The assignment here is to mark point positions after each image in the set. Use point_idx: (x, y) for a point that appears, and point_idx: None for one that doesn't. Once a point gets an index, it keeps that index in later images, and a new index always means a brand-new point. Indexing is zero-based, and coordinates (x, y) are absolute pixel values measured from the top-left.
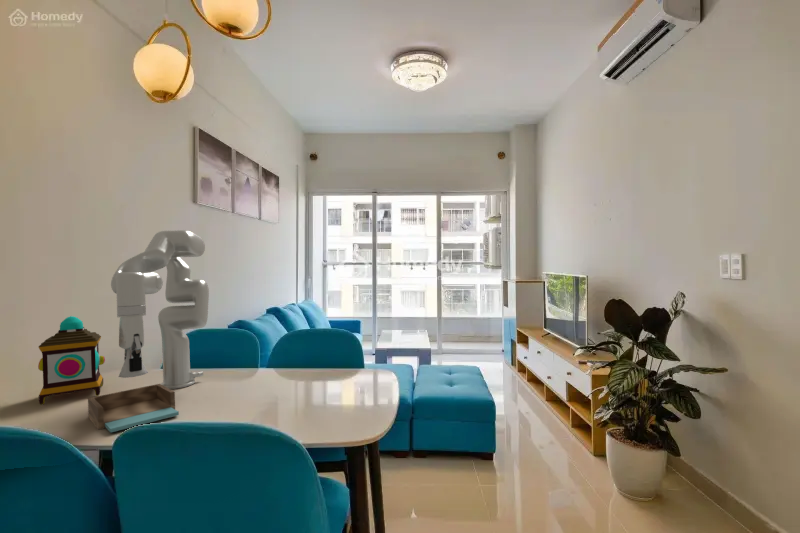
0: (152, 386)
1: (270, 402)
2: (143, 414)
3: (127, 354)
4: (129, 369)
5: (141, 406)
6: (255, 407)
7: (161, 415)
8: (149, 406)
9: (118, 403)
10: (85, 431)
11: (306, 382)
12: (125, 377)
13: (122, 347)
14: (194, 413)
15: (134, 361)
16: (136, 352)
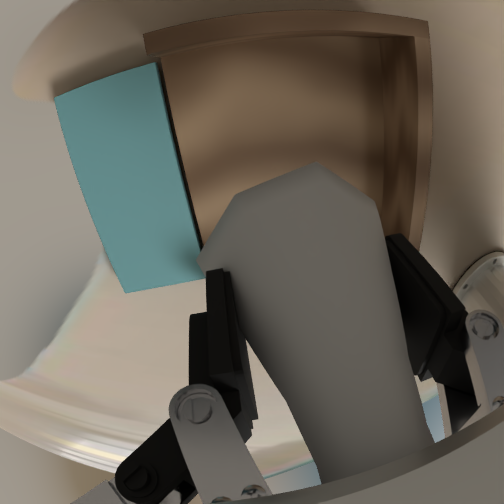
0: None
1: (135, 414)
2: (172, 195)
3: (367, 386)
4: (220, 278)
5: None
6: (114, 397)
7: (111, 249)
8: None
9: (391, 124)
10: (177, 3)
11: None
12: (226, 209)
13: (400, 486)
14: (140, 315)
15: (193, 374)
16: (114, 480)
